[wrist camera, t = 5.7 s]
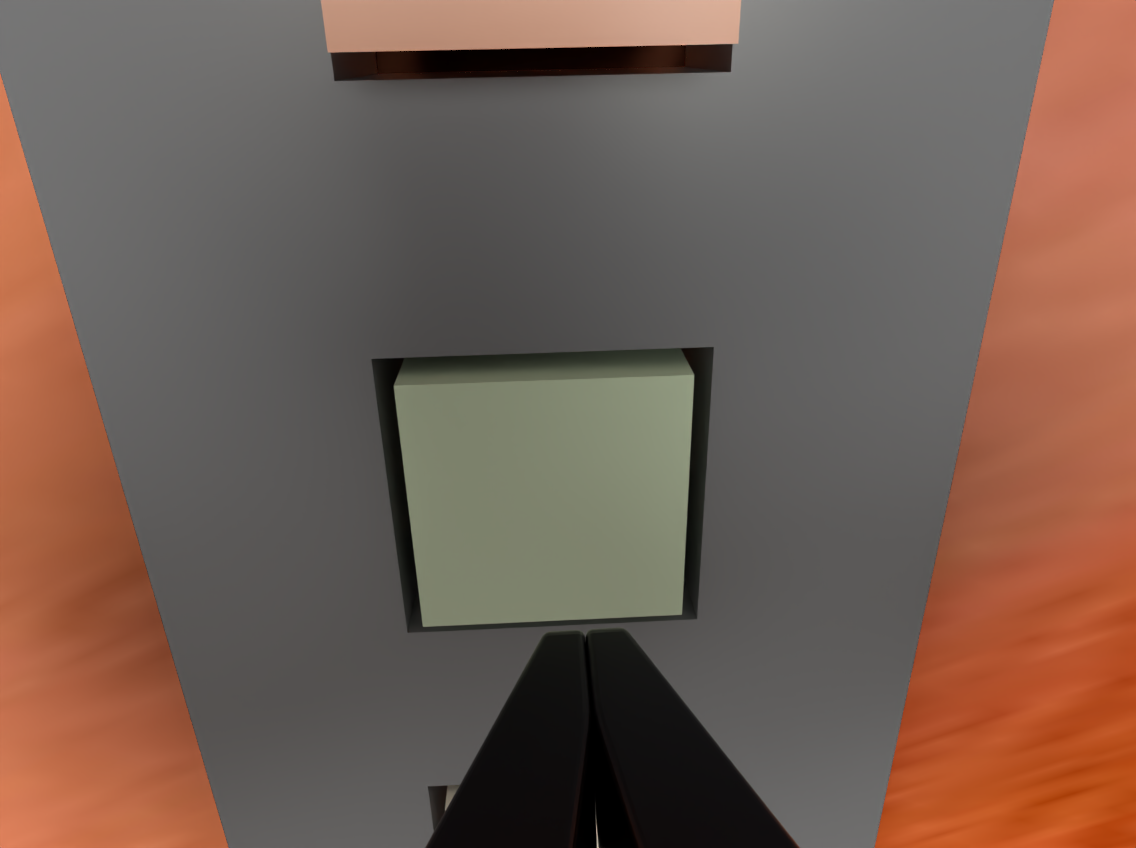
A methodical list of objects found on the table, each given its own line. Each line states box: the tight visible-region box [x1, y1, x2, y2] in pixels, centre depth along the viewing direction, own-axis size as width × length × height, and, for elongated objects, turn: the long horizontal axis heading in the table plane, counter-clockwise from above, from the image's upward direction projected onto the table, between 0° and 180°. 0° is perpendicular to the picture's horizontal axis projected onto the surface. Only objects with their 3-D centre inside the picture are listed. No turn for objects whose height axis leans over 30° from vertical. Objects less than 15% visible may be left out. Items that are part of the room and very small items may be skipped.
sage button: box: [394, 348, 694, 627], centre depth 13 cm, size 4×4×2 cm
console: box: [0, 0, 1054, 848], centre depth 13 cm, size 12×26×3 cm, turn 1°
